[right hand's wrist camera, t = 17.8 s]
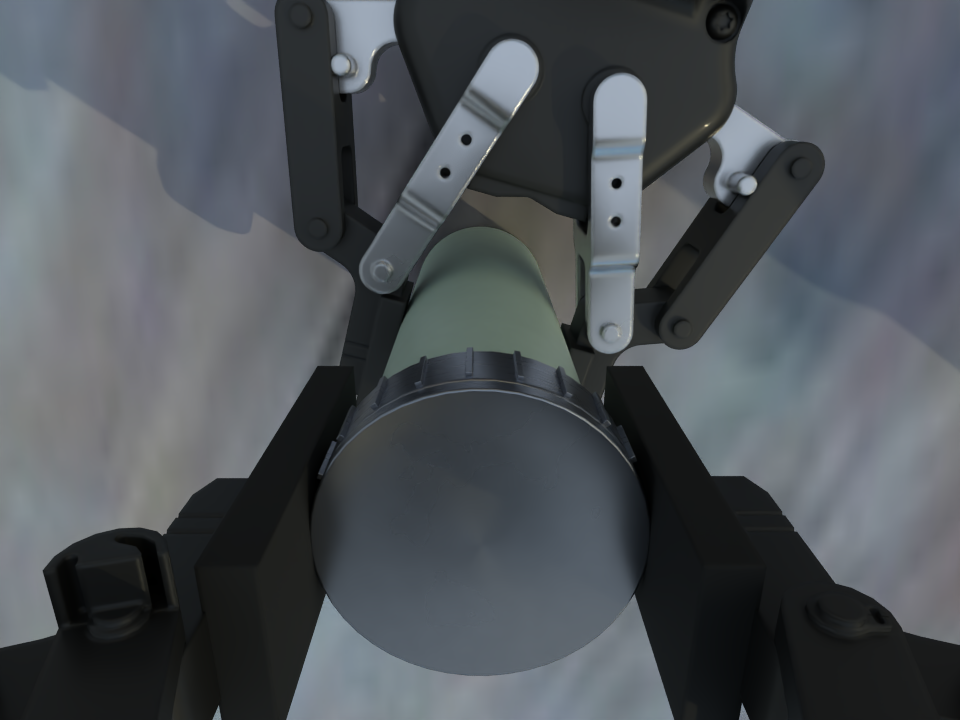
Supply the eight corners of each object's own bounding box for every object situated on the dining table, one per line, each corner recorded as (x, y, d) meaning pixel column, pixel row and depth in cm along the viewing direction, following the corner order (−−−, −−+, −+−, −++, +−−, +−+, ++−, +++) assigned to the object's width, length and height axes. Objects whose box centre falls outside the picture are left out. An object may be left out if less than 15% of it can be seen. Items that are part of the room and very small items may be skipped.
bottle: (397, 309, 25) (296, 558, 12) (456, 202, 24) (424, 338, 10) (501, 366, 26) (526, 662, 12) (565, 266, 25) (674, 472, 11)
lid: (609, 620, 13) (627, 688, 12) (325, 601, 13) (305, 669, 11) (658, 358, 11) (687, 400, 10) (325, 334, 11) (300, 370, 9)
